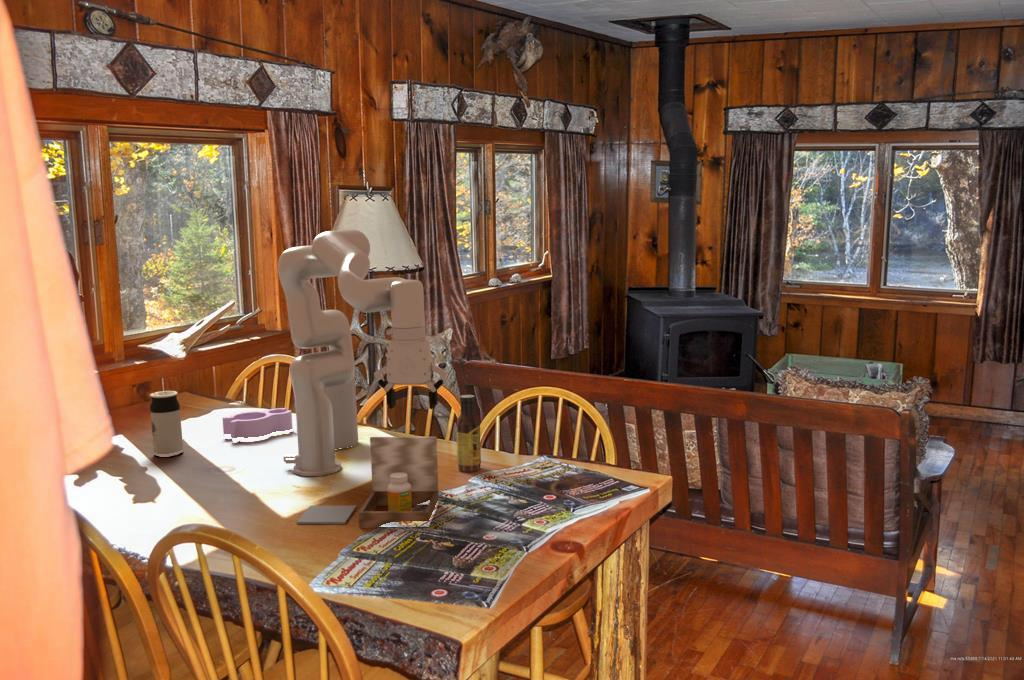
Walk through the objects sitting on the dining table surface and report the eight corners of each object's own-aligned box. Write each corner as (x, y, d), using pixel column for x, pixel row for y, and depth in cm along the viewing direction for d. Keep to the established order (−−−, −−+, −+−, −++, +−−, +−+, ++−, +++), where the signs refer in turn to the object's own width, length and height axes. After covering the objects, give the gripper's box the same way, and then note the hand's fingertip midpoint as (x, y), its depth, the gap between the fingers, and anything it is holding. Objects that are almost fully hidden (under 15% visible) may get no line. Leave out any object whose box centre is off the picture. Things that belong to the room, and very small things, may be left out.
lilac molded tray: (281, 427, 301) (280, 406, 300) (298, 434, 291) (297, 412, 290) (220, 438, 289) (219, 416, 288) (235, 446, 280) (234, 423, 278)
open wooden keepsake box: (359, 527, 208) (355, 455, 206) (373, 504, 224) (370, 437, 221) (429, 527, 207) (426, 455, 205) (439, 504, 223) (436, 436, 220)
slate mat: (296, 524, 211) (296, 522, 211) (310, 507, 222) (310, 505, 222) (345, 524, 211) (345, 521, 211) (356, 507, 222) (356, 505, 222)
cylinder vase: (365, 445, 276) (361, 362, 272) (325, 453, 269) (320, 367, 265) (347, 437, 286) (343, 356, 282) (308, 444, 279) (303, 361, 275)
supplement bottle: (402, 521, 212) (400, 479, 210) (383, 517, 215) (381, 476, 213) (417, 514, 216) (415, 473, 215) (398, 510, 219) (396, 470, 218)
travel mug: (183, 449, 277) (178, 389, 274) (183, 456, 269) (178, 394, 266) (154, 452, 274) (149, 391, 271) (153, 459, 267) (148, 397, 264)
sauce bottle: (478, 473, 246) (475, 399, 243) (454, 472, 248) (452, 398, 244) (483, 466, 253) (481, 393, 250) (461, 465, 254) (458, 393, 251)
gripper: (367, 336, 212) (371, 411, 215) (441, 336, 209) (444, 411, 212) (377, 332, 220) (381, 403, 222) (449, 331, 217) (452, 404, 219)
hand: (412, 407), depth 217 cm, fingers open, 9 cm apart
